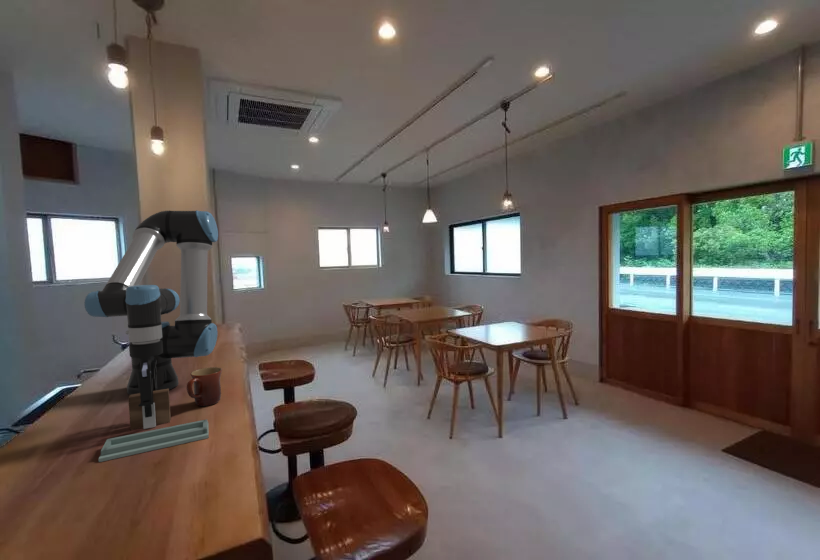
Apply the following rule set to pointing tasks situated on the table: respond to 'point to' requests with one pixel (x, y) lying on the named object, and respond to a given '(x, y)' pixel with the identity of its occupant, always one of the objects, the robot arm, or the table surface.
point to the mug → (205, 386)
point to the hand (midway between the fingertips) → (151, 423)
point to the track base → (154, 440)
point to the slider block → (161, 408)
